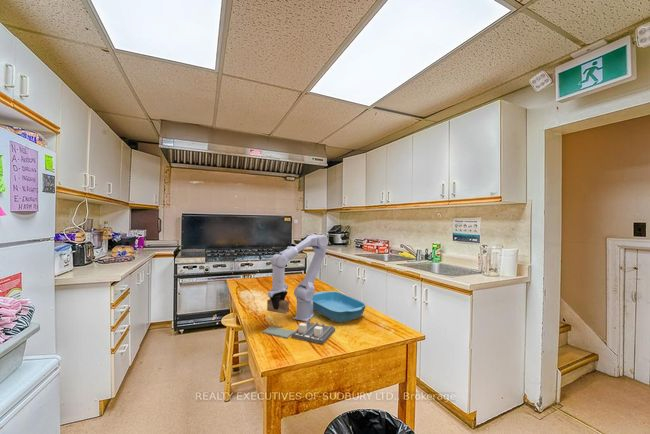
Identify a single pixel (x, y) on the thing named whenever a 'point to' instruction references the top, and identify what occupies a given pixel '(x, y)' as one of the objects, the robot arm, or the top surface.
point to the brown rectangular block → (282, 307)
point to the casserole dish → (338, 306)
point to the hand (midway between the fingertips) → (278, 307)
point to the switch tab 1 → (302, 328)
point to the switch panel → (310, 333)
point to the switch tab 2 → (318, 331)
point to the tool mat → (278, 332)
